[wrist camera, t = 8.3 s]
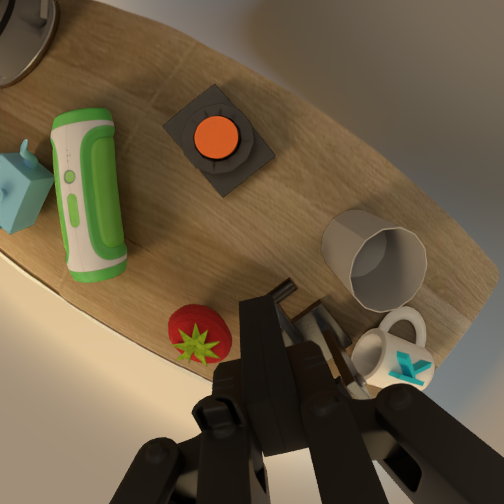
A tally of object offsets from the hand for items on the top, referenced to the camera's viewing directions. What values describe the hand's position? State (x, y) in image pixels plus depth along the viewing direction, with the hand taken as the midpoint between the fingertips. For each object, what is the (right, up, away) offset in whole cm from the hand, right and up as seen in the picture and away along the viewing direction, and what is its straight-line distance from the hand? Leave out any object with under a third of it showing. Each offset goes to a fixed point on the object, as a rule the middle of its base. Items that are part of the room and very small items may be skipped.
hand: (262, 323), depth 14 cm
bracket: (+8, -8, +26) cm, 28 cm away
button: (-4, +14, +15) cm, 21 cm away
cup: (+12, +4, +23) cm, 26 cm away
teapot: (-28, +12, +18) cm, 35 cm away
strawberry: (-6, -4, +24) cm, 25 cm away
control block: (-4, +15, +19) cm, 24 cm away
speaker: (-18, +10, +19) cm, 29 cm away
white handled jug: (+20, -10, +27) cm, 35 cm away
